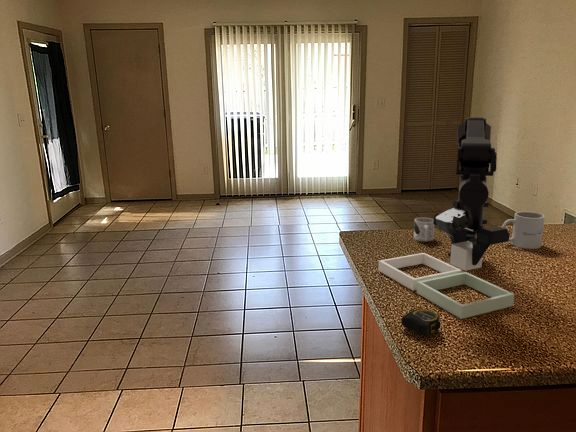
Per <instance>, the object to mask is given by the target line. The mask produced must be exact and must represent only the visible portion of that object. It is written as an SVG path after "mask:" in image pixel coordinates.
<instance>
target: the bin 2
mask: <svg viewBox="0 0 576 432" xmlns="http://www.w3.org/2000/svg"><path fill="white" fill-rule="evenodd" d="M463 285H466V286H468V287H469V288H472V289H474V290H476V291H478V292H480V293H482V294H484V295H486V296H488V297H489V298H485V299H480V300H476V301H472V302H466V303H463V304H462V303H461V302H458V301H457V300H455V299H453V298H451V297H450V296H448V295H446V294H444V293H442V292H440V291H439V290H443V289H448V288H453V287H457V286H463ZM416 294H418V295H419V296H421V297H422V298H425V299H426V300H427V301H429V302H431V303H433V304H434V305H437V306H438V307H439V308H441V309H443V310H445V311H446V312H449V313H450V314H452V315H453V316H455V317H457V318H459V319H460V320H463V319H467V318H470V317H471V318H472V317H474V316H475V317H476V316H478V315H483V314H486V313H492V312H494V311H499V310H502V309H506V308H511V307H513V306H514V301H515V300H514V299H515V293H512V292H510V291H508V290H507V289H504V288H502V287H500V286H498V285H495V284H493V283H492V282H489V281H487V280H485V279H482V278H480V277H478V276H475V275H473V274H471V273H470V272H466V271H462V273H458V274H453V275H448V276H443V277H438V278H433V279H429V280H424V281H419V282H417V290H416Z"/></svg>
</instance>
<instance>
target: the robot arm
mask: <svg viewBox="0 0 576 432" xmlns="http://www.w3.org/2000/svg"><path fill="white" fill-rule="evenodd" d="M456 131H457V132H456V145H458V147H457V155H456V156H457V157H456V171H455V175H460V176H459V187H458V198H457V199H458V200H457V199H456V200H454V201H453V203H452V208H450V209H447V210H446V211H442V212H436V213H435V214H434V216H433V219H434V220H433V224H434V225H435V226H437V229H438V231H440V232H444V233H446V235H448V236H449V238H450V241H451V242H450V243H451V244H454V243H460V242H466V241H469V242H471V243H472V245H473V248H472V265H477V264H478V262H479V261H480V259H481V258H482V259H483V257H482V256H484V255H485V253H486V251H487V250H488V249H489V248H490V246H491V245H496V244H502V243H508V242H510V241H509V238H510V235H511V234H510V233H511V232H510V231H509V229H507V228H506V227H505V228H502V226H499V225H495V224H494V225H488V226H484V225H487V224H488V219H485V218H484V216H485V215H484V214H485V212H484V211H485V208H488V207H489V203H490V202H488V201H487V200H488V198H489V195H490V194H489V189H488V186H487V181H488V178H487V177H494V173H496V172H497V164H498V163H497V162H498V161H497V158H498V157H497V154H498V153H497V152H496V149H495V147H492V142H491V136H492V134H491V133H492V126H491V125H489V123H487V118H485V117H482V116H481V117H480V116H479V117H475V116H474V117H472V116H471V117H470V116H469V117H466V118H465V119H464V122H462V123H461V124H459V125H458V126H457V130H456ZM451 244H450V245H451ZM447 255H448V256H451V251H449V252H447Z"/></svg>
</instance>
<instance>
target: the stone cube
mask: <svg viewBox="0 0 576 432" xmlns="http://www.w3.org/2000/svg"><path fill="white" fill-rule="evenodd" d="M472 248H473V245H472V243H471V242H469V241H466V242H460V243H454V244H450V252H451V255H450V259H449V260H450V261H449V265H452V266H454V267H456V268H458V269H460V270H462V271H469V270H474V269H480V268H482V267H483V256H484V255H483V256H482V258H481V259H480V261H479V262H478V264H477V265H472Z"/></svg>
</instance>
